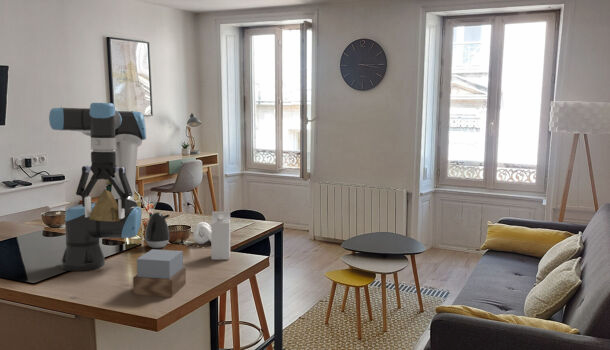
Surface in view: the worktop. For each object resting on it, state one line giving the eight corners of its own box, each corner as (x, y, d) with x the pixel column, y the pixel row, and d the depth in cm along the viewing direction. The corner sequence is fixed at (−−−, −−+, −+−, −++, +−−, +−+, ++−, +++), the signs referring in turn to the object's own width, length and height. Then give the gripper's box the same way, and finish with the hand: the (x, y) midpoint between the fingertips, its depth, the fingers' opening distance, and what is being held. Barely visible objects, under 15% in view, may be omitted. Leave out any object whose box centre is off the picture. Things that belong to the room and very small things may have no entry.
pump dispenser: (166, 250, 224) (166, 215, 222) (142, 249, 224) (141, 214, 222) (172, 244, 234) (172, 210, 232) (149, 243, 234) (148, 209, 232)
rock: (130, 214, 173) (122, 205, 181) (114, 195, 168) (106, 187, 176) (102, 236, 169) (95, 226, 177) (85, 217, 165) (79, 208, 173)
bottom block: (133, 295, 171) (133, 277, 170) (149, 282, 183) (149, 265, 183) (172, 298, 169) (172, 279, 168) (185, 284, 182) (185, 267, 181)
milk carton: (212, 255, 218) (212, 210, 216) (230, 255, 219) (230, 210, 216) (211, 259, 211) (211, 213, 209) (229, 259, 212) (229, 213, 209)
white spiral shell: (189, 245, 232) (189, 225, 231) (196, 239, 244) (196, 220, 243) (214, 246, 232) (215, 226, 231) (220, 239, 244) (220, 220, 243)
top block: (137, 277, 170) (136, 259, 170) (152, 266, 182) (152, 249, 181) (169, 279, 169) (169, 260, 168) (183, 268, 181) (182, 251, 180)
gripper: (62, 150, 168) (65, 218, 171) (132, 152, 166) (134, 221, 169) (75, 148, 176) (77, 213, 178) (142, 150, 173) (143, 216, 176)
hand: (104, 217), depth 173 cm, fingers closed on rock, 11 cm apart
